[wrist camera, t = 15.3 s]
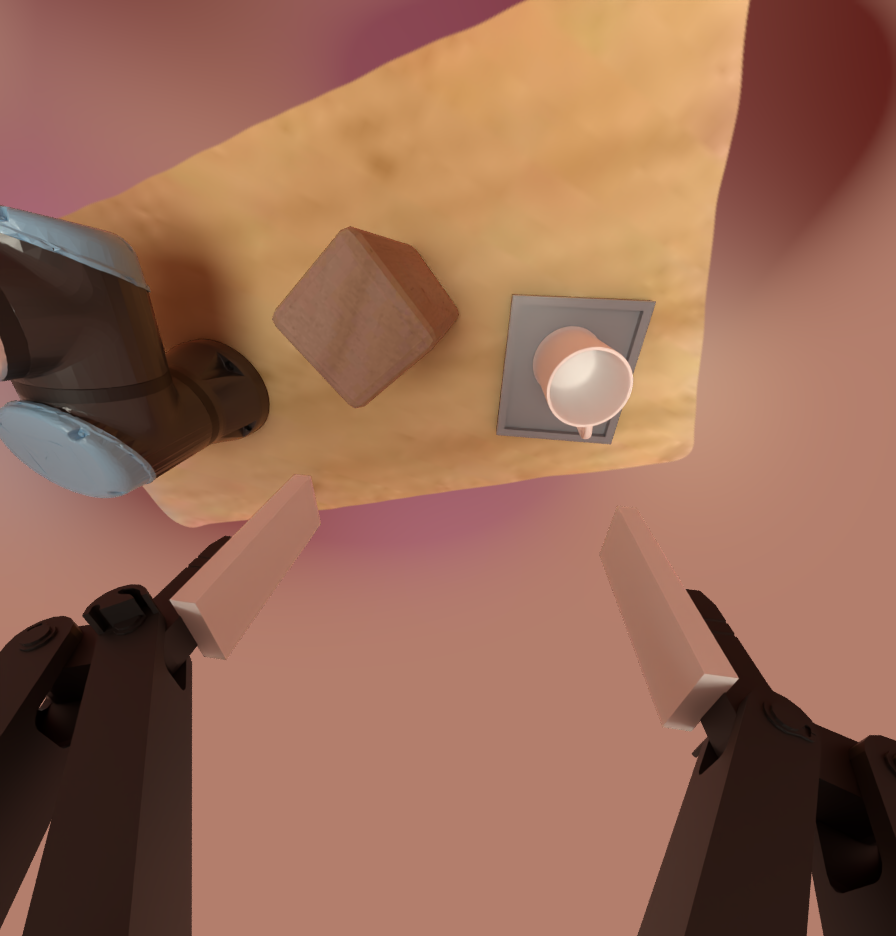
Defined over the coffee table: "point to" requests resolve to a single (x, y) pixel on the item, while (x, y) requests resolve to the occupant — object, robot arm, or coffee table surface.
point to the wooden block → (365, 313)
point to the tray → (529, 326)
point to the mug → (582, 378)
